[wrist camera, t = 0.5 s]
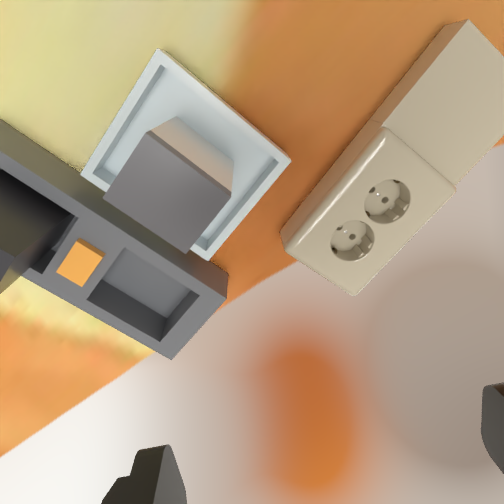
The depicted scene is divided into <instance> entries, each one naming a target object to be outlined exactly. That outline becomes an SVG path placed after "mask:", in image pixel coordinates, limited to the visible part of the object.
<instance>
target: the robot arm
mask: <svg viewBox="0 0 504 504" xmlns="http://www.w3.org/2000/svg"><path fill="white" fill-rule="evenodd" d="M481 434H482V439H483V442H484V445H485V447H486V449H487V451H488V453H489V455H490V457H491V458H492V459H493V461H494V462H495V463H496V465H497V466H498V467H499V469H500V470H501V471H502V472H503V474H504V383H499V384H493V385H488V386H485V387H484V389H483V397H482V423H481ZM101 504H187V500H186V491H185V487H184V483H183V480H182V477H181V475H180V472H179V469H178V466H177V463H176V460H175V457H174V454H173V451H172V448H171V447H170V445H163V446H158V447H152V448H147V449H142V450H139V451H138V452H137V454H136V456H135V459H134V463H133V466H132V470H131V473H130V476H126V477H121V478H118V479H117V480H116V482H115V483H114V484H113V486H112V487H111V489H110V490H109V492H108V493H107V495H106V496H105V497H104V499H103V500H102V503H101Z"/></svg>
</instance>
